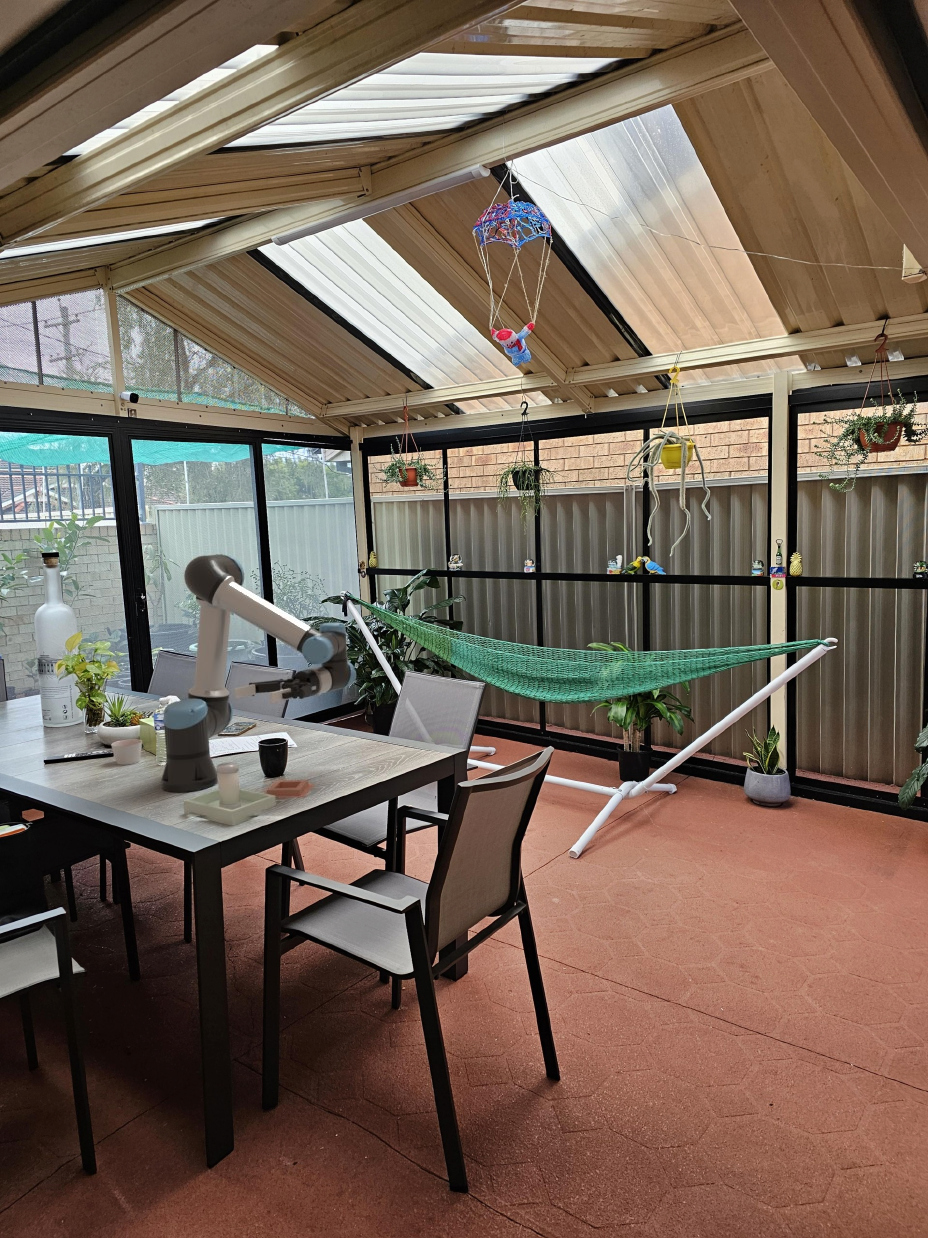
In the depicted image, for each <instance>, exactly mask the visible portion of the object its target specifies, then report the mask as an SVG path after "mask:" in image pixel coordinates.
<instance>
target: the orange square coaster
mask: <svg viewBox="0 0 928 1238" xmlns="http://www.w3.org/2000/svg"><path fill="white" fill-rule="evenodd" d="M315 785H316V783H309V779H291V780H290V779H287V780H286V779H285V780H284V779H283V780H282V779H279V780H275V781H274V782H273V783H272V784H271V785H270V786H269V787H268V788H267V789H266V790H265V791H264V792H263V793H265V794H270V795H275V798H280V799H281V798H305V797H306V796H307V794H309V792H310V791H311V790H312V789H313V788H314V787H315Z"/></svg>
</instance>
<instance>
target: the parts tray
mask: <svg viewBox="0 0 928 1238" xmlns="http://www.w3.org/2000/svg"><path fill="white" fill-rule="evenodd" d="M239 790H240V801H241V807H239V808H236V809H233V810H231V809H227V808H222V807H219V802H220V801H219V788H217V789H214V790H211V791H208V792H205V793H201V794H199V795H196V796H194V797H193V796H192V797H190V798H187V799H184V800H183V813H184V815H189V814H191V813H193V814H198V815H193V817H194V818H200V819H203V820H208V821H212V822H216V823H220V824H223V825H224V824H225V825H227V826H237V825H239V824H241V823H244V822H246V821H249V820H252V819H254V818H256V817H259V816H260V815H259V814H257V813H260V812H262V811H265V810H268V809H270V808H272V807H273V808H274V807H275V806H277V802H276V798H275V795H270V794H265V793H264V792H258V791H255V790H249V789H245V788H240V787H239ZM255 814H257V815H255Z"/></svg>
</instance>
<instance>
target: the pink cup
mask: <svg viewBox="0 0 928 1238" xmlns="http://www.w3.org/2000/svg"><path fill="white" fill-rule="evenodd" d="M110 745H111V750H112V752H113V757H114V760H115V763H116V765H118V766H119V765H120V766H129V765H134V764H137V763H139V762H140V761H141V756H142V755H141V754H142V746H143V740H142V739H138V738H137V739H136V738H133V739H130V738H129V739H123V740H117V741H114V742H112V743H111V744H110Z"/></svg>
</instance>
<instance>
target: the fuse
mask: <svg viewBox="0 0 928 1238" xmlns="http://www.w3.org/2000/svg"><path fill="white" fill-rule="evenodd" d="M216 771H217V774H218V782H217V783H218V784H217V785H218V789H219V801H220V802H219V807H222V808H227V809H231V810H233V809H236V808H239V807H241V801H240V790H239V788H240V776H239V771H240V769H239V763H238V762H233V761H232V762H231V761H229V762H223V763H219V764H217V765H216Z"/></svg>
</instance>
